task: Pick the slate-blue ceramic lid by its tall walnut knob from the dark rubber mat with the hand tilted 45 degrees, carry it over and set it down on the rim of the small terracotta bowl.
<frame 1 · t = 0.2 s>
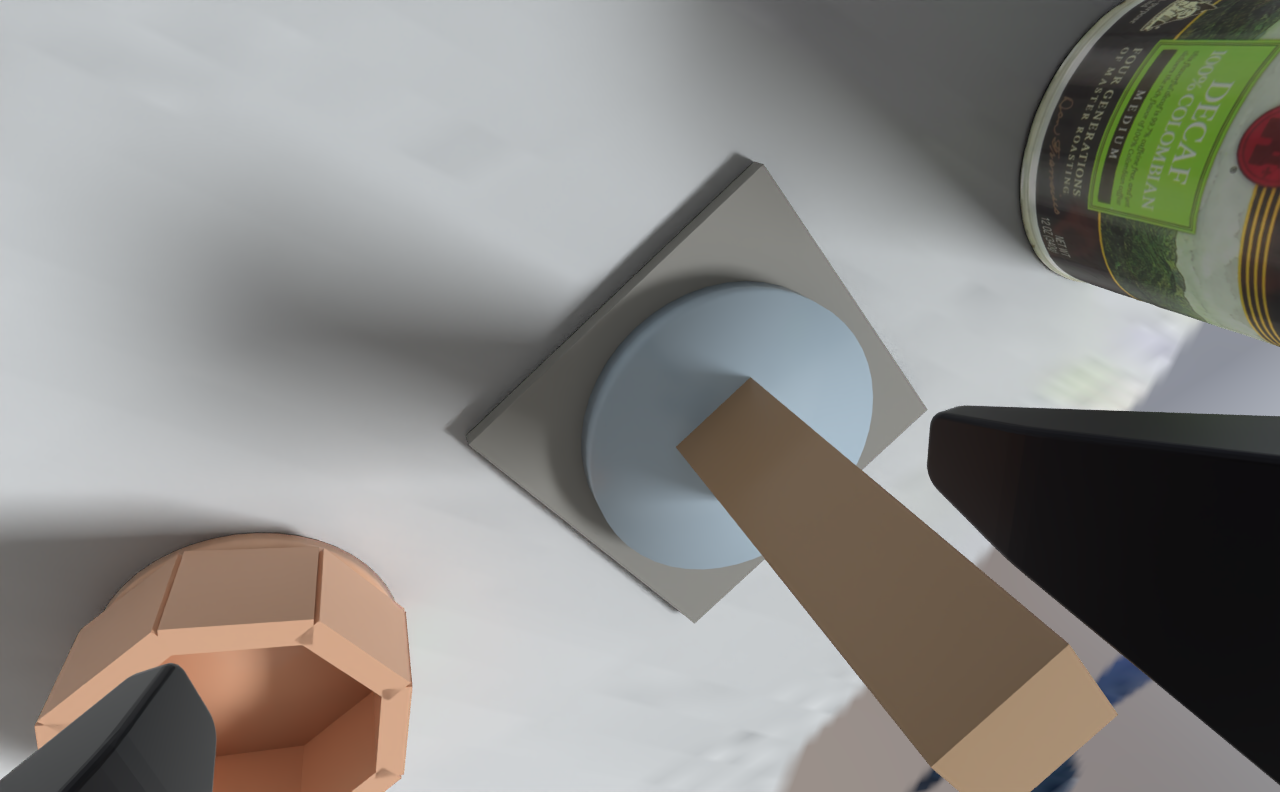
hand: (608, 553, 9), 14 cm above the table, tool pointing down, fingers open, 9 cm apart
mat: (716, 417, 25), on the table
lid: (724, 425, 25), point 1 cm above the table, touching mat
coffee can: (1128, 145, 27), on the table
bowl: (257, 648, 23), on the table
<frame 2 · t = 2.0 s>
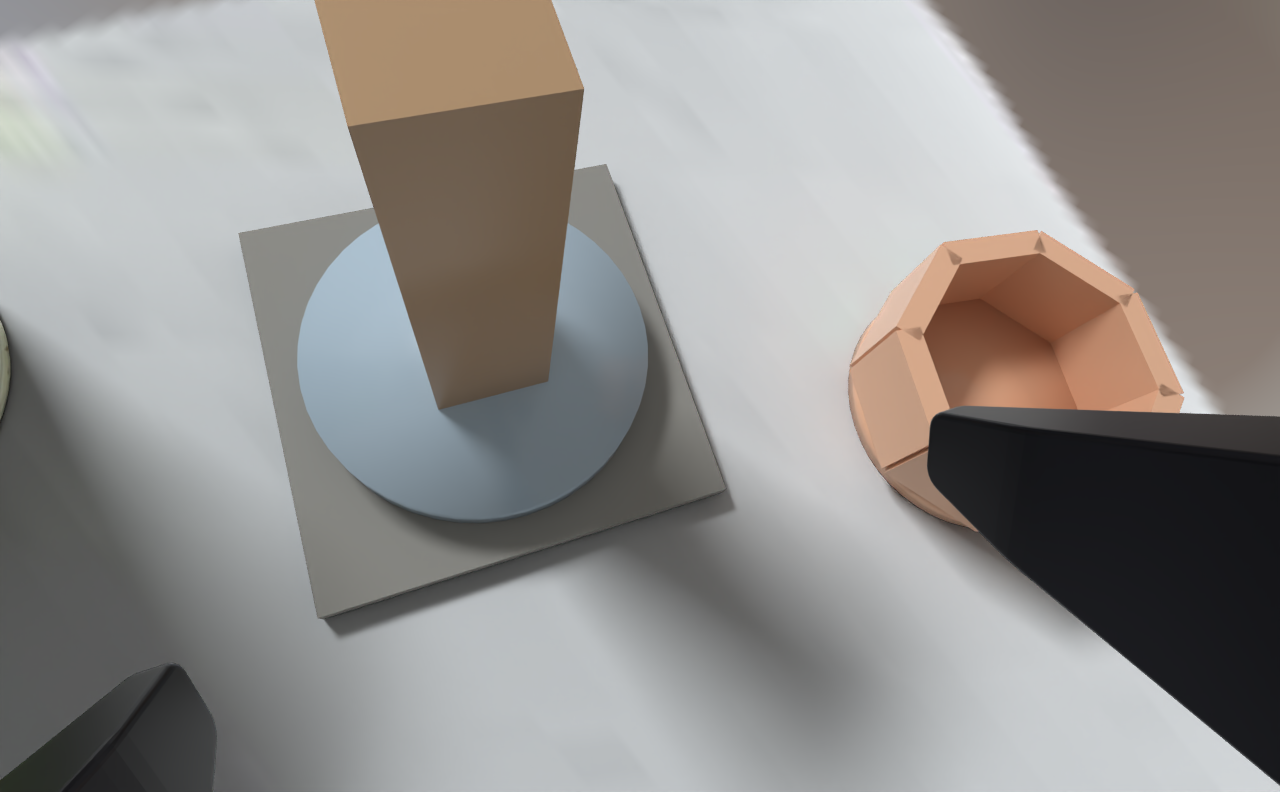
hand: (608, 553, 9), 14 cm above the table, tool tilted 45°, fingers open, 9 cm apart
mat: (482, 367, 23), on the table
lid: (481, 360, 23), point 1 cm above the table, touching mat
bowl: (965, 404, 26), on the table
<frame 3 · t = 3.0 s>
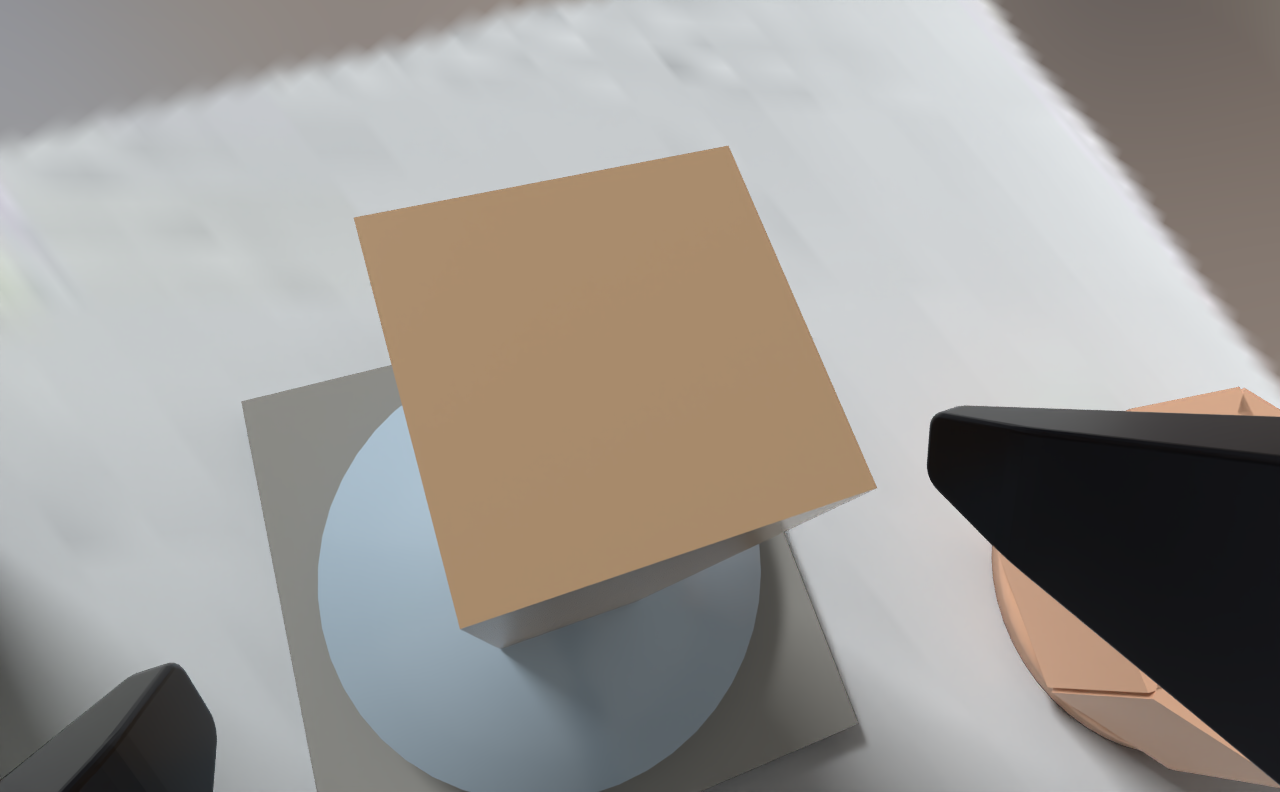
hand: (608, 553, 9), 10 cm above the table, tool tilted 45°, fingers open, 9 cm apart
mat: (546, 564, 18), on the table
lid: (547, 561, 18), point 1 cm above the table, touching mat
bowl: (1133, 585, 21), on the table
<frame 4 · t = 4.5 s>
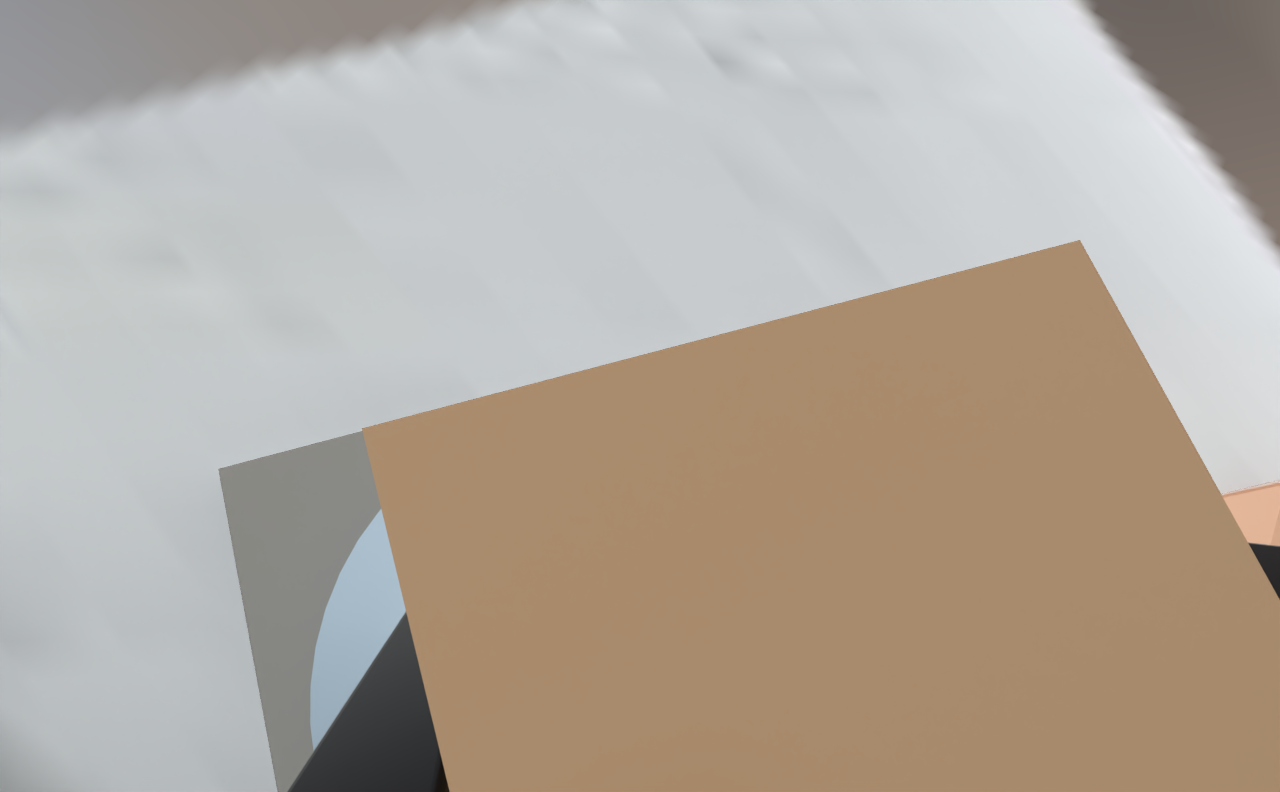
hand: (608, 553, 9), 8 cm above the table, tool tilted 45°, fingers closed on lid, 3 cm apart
mat: (585, 662, 15), on the table
lid: (588, 662, 15), point 1 cm above the table, touching gripper, mat
bowl: (1265, 674, 18), on the table
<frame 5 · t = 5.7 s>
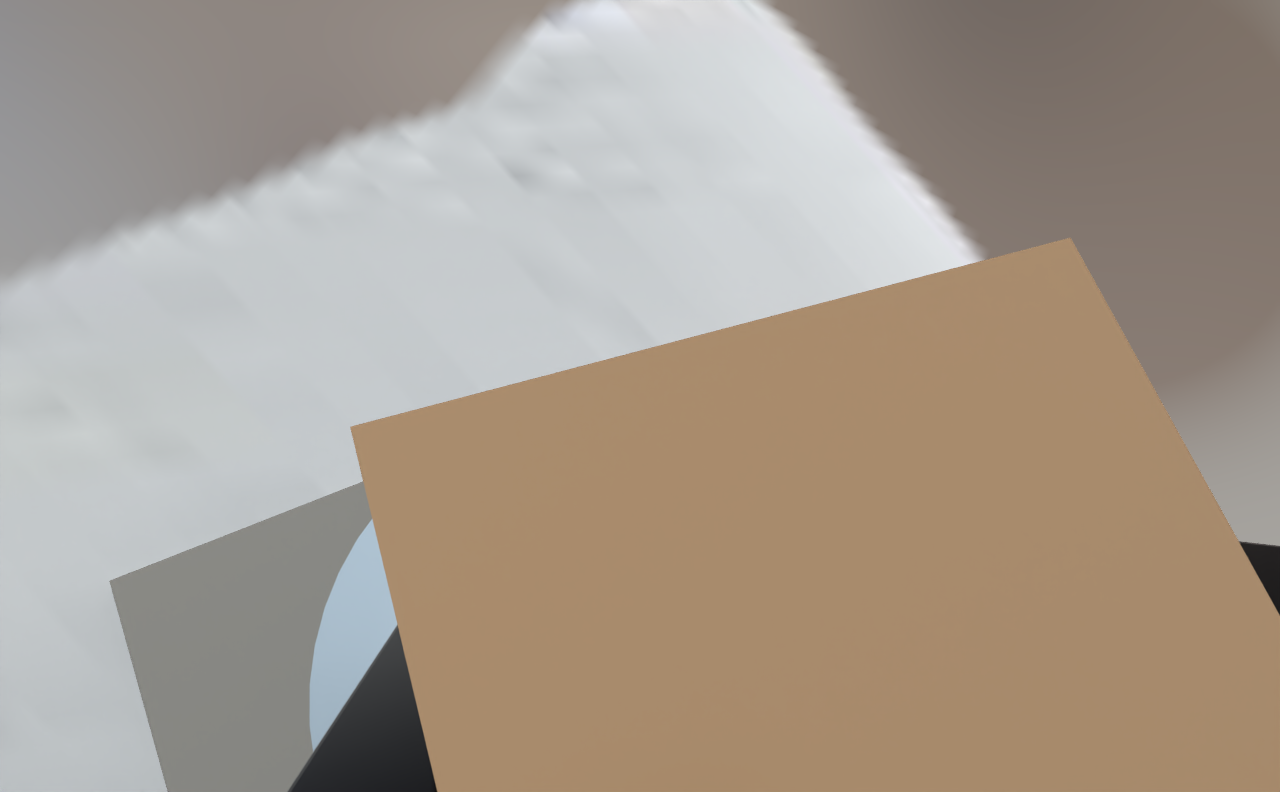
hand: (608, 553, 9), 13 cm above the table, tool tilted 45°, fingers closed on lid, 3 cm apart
mat: (421, 695, 20), on the table
lid: (587, 661, 15), point 6 cm above the table, touching gripper
when the fingers open (12 cm above the table, at t = 7.2 s): lid drops 1 cm, resting on bowl.
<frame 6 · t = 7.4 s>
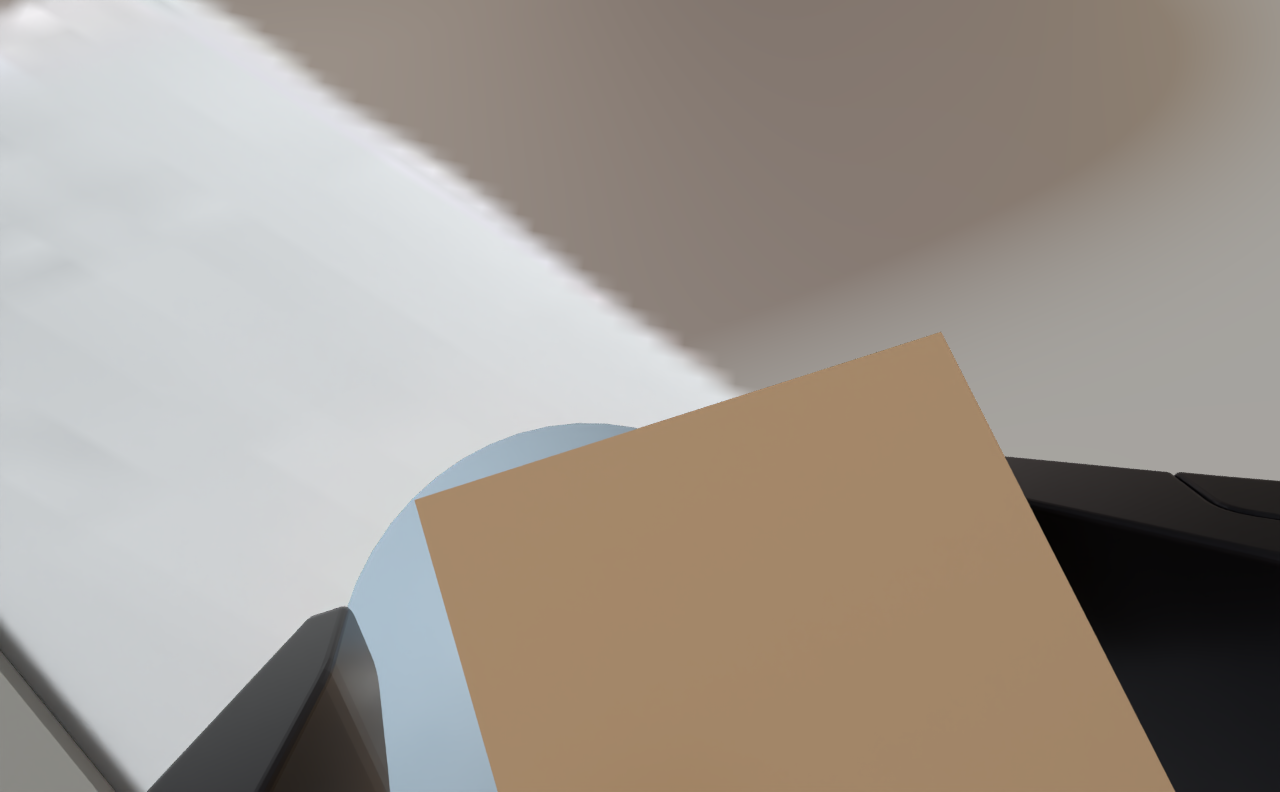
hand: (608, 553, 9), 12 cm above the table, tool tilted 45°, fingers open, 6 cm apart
lid: (588, 658, 16), point 4 cm above the table, touching bowl
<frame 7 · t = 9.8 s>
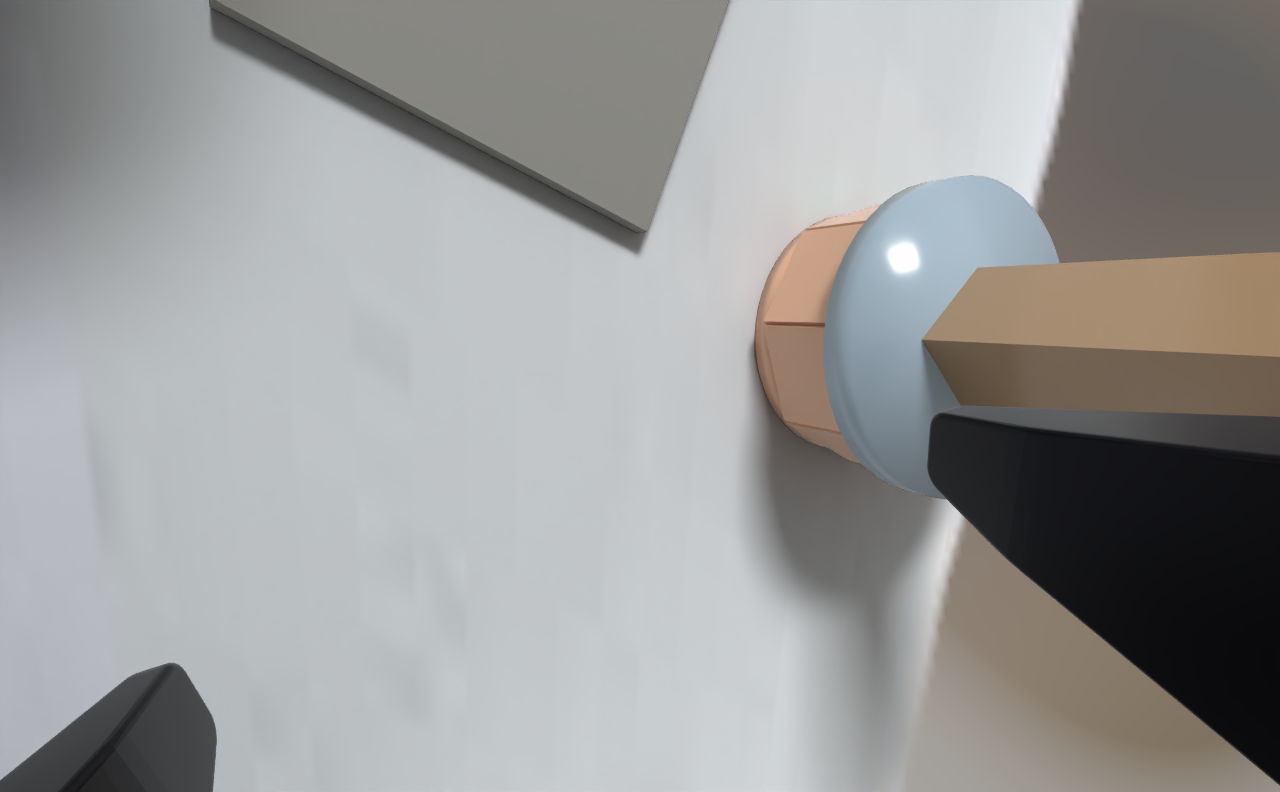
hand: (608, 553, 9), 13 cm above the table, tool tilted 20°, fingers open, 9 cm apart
lid: (938, 339, 24), point 4 cm above the table, touching bowl
bowl: (847, 333, 27), on the table
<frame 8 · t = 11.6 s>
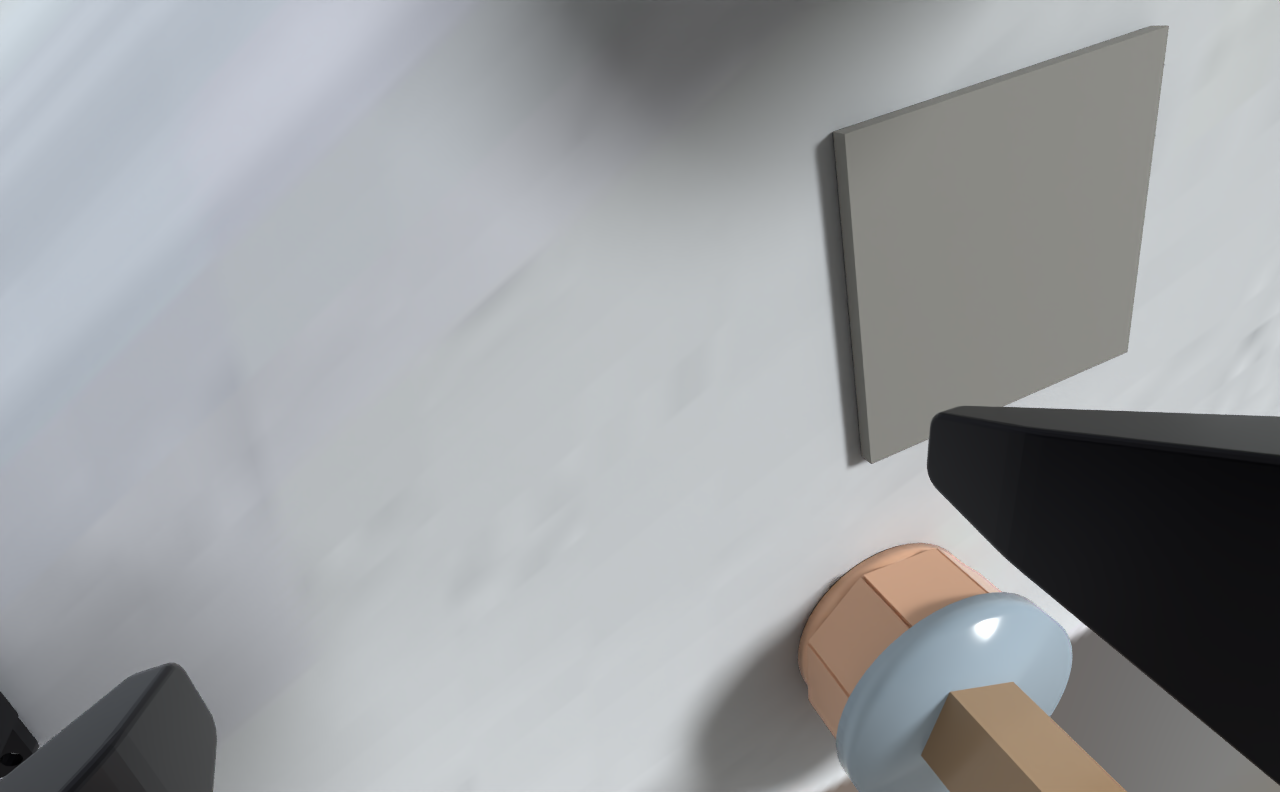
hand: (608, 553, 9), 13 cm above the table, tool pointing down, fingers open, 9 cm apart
mat: (996, 256, 26), on the table
lid: (945, 694, 29), point 4 cm above the table, touching bowl
bowl: (883, 624, 32), on the table
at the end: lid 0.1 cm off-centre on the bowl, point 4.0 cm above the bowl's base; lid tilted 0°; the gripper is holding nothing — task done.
